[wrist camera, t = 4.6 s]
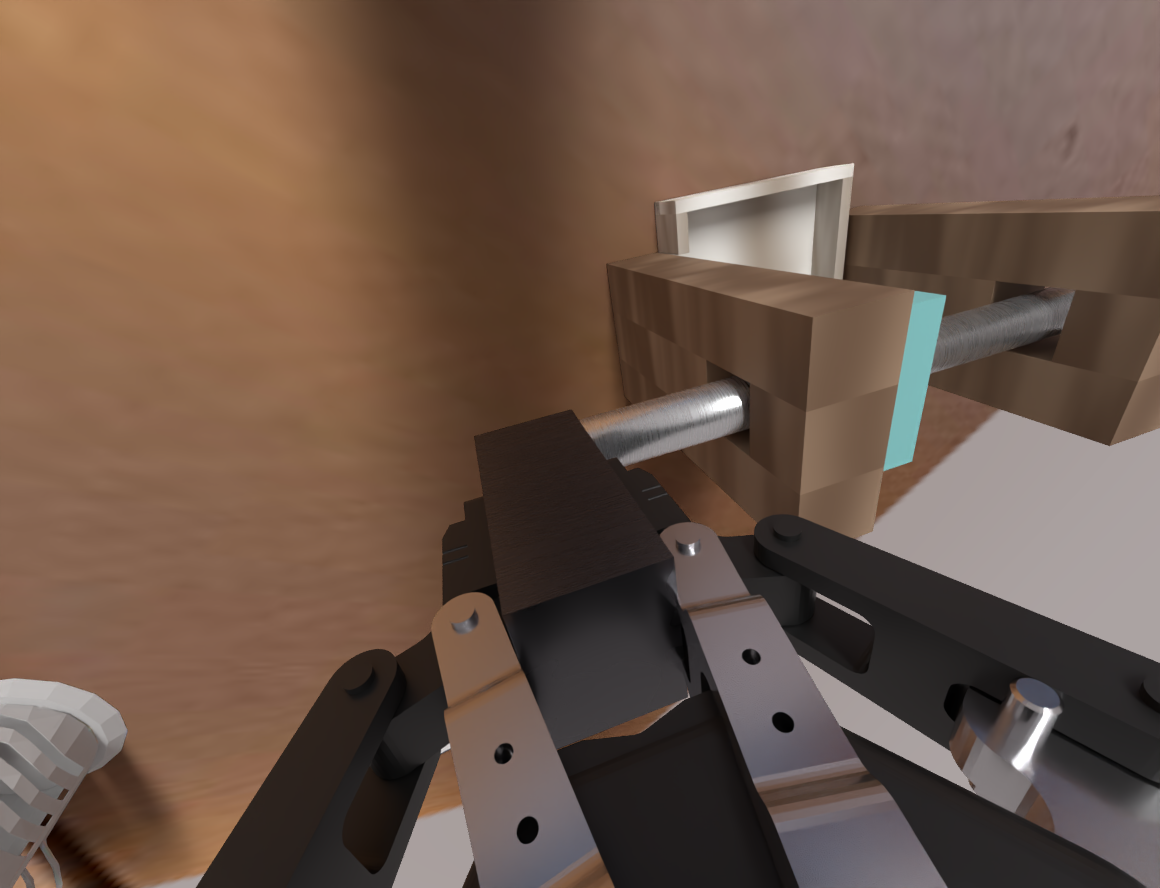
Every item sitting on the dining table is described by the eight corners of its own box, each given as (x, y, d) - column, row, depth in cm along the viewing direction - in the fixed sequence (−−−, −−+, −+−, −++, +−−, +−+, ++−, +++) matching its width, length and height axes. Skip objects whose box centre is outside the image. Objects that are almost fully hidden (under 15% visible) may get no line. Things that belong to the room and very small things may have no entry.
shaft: (500, 507, 17) (552, 751, 9) (470, 411, 15) (502, 615, 7) (1040, 343, 21) (1395, 415, 13) (1070, 250, 19) (1506, 271, 11)
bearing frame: (629, 431, 30) (791, 611, 16) (599, 213, 24) (821, 204, 10) (843, 368, 33) (1142, 477, 19) (867, 158, 26) (1338, 88, 13)
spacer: (744, 421, 21) (842, 485, 16) (744, 291, 19) (862, 318, 13) (800, 404, 22) (911, 461, 17) (808, 275, 19) (946, 295, 14)
